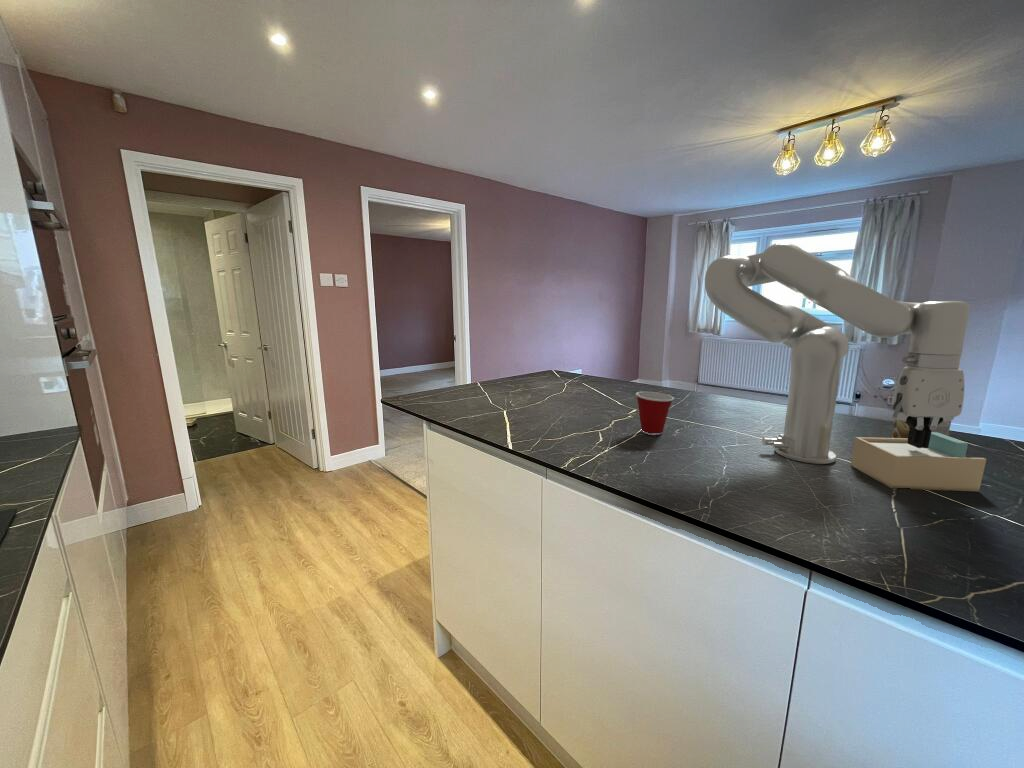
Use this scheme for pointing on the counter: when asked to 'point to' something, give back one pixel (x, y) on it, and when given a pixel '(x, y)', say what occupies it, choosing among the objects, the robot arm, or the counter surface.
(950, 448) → the lid
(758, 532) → the counter surface
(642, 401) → the plastic cup
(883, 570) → the counter surface
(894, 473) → the box
